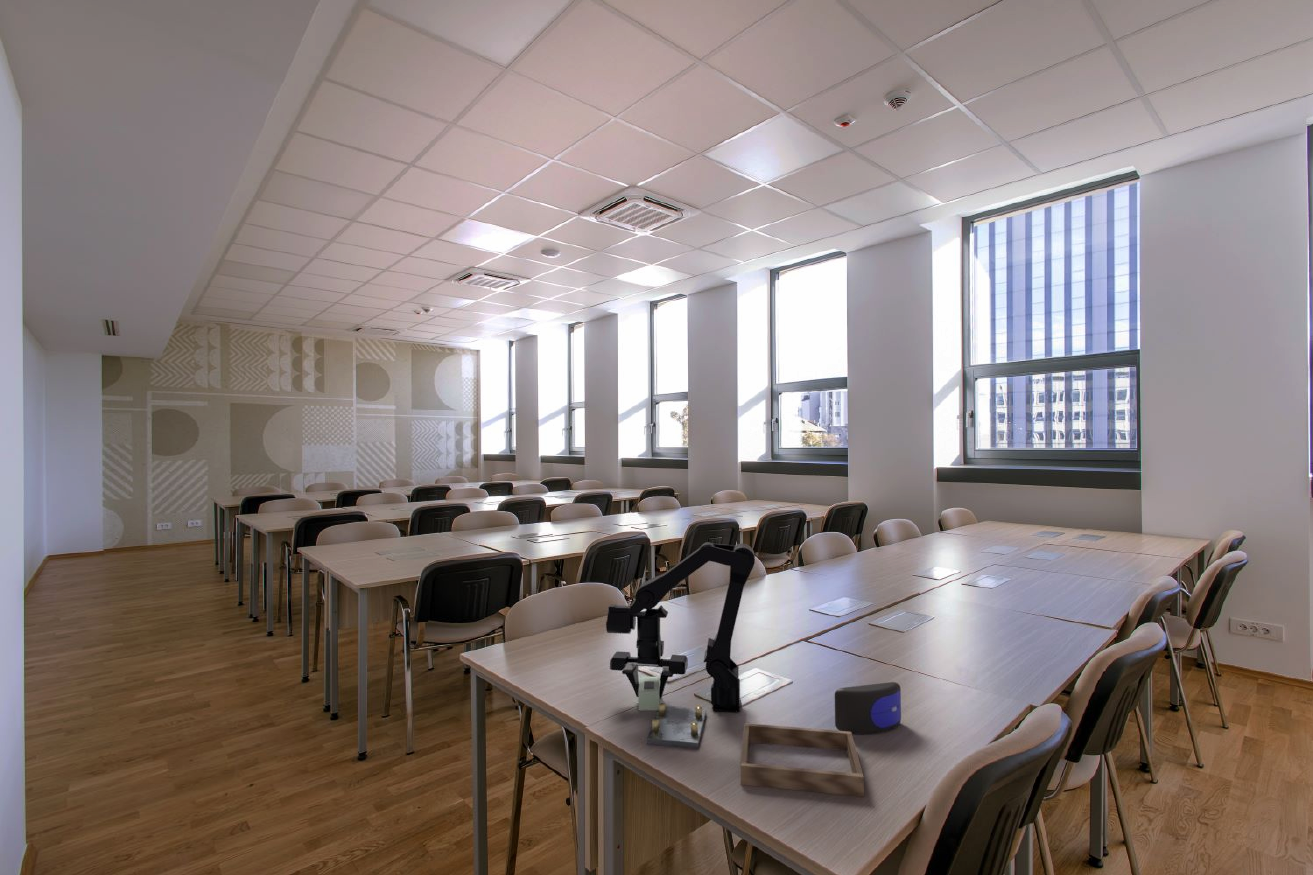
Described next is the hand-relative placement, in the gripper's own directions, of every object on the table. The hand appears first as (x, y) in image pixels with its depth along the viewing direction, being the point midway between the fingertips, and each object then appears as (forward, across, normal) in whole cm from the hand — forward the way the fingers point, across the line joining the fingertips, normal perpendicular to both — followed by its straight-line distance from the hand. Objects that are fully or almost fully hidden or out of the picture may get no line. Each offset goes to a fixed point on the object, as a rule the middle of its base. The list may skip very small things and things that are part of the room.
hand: (649, 697), depth 146 cm
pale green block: (+1, 0, 0) cm, 1 cm away
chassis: (+1, -9, +12) cm, 15 cm away
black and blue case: (+2, -51, +4) cm, 51 cm away
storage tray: (+1, -35, +23) cm, 42 cm away
